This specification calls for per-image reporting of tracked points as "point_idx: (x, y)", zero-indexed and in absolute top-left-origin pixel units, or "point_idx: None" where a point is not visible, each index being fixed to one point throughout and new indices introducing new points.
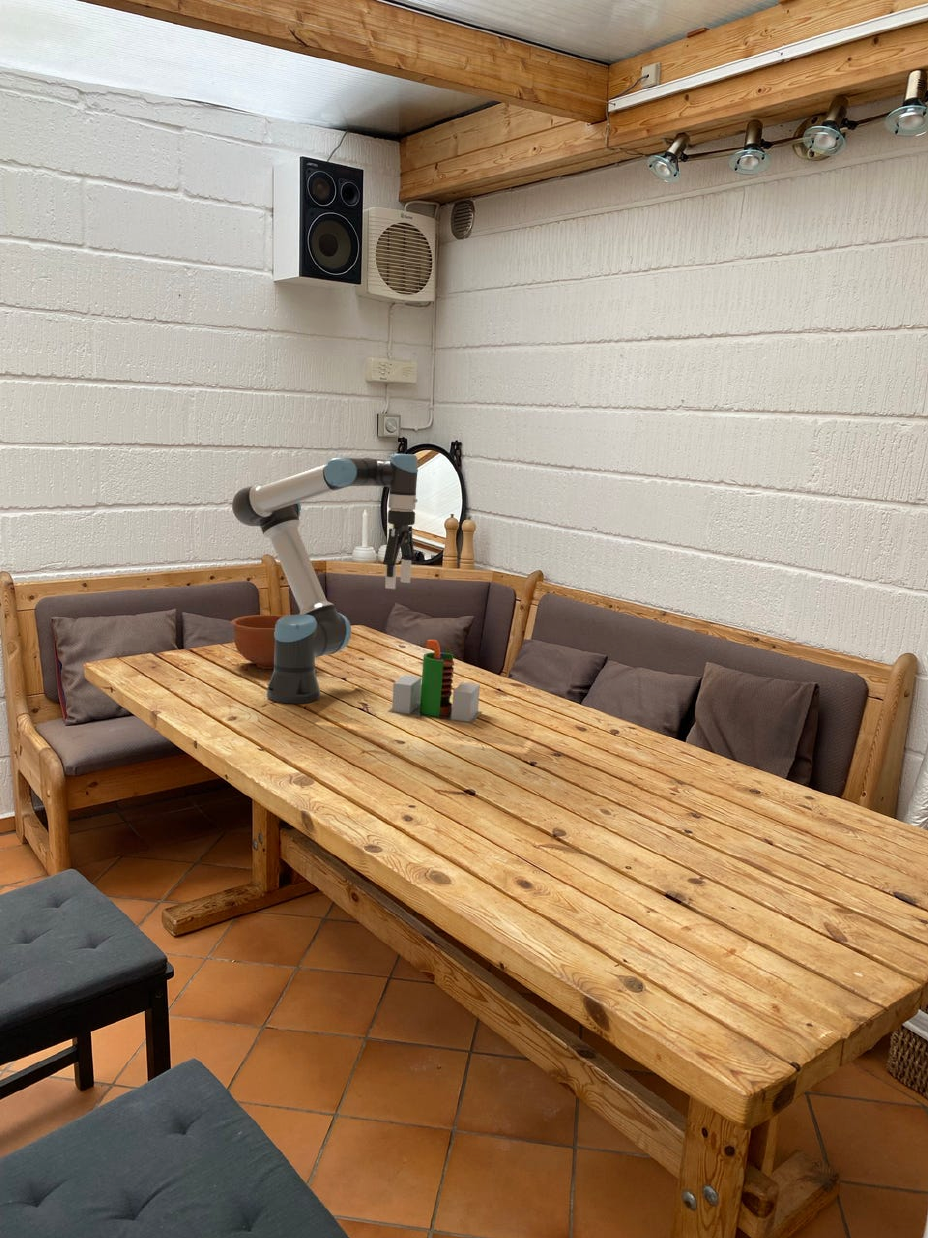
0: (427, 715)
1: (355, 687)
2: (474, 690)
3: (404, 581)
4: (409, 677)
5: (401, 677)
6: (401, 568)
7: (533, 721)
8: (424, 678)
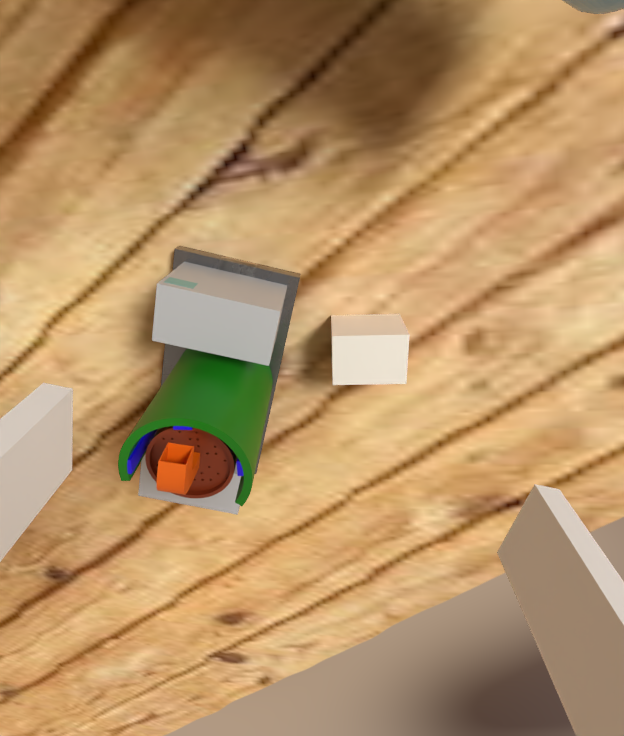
0: (178, 356)
1: (507, 92)
2: (175, 501)
3: (519, 523)
4: (254, 329)
5: (244, 303)
6: (610, 614)
7: (255, 553)
8: (165, 388)
